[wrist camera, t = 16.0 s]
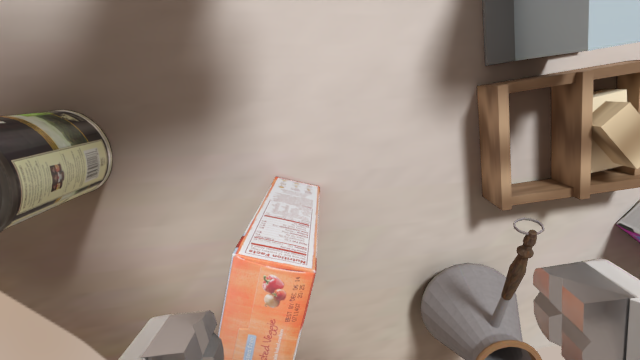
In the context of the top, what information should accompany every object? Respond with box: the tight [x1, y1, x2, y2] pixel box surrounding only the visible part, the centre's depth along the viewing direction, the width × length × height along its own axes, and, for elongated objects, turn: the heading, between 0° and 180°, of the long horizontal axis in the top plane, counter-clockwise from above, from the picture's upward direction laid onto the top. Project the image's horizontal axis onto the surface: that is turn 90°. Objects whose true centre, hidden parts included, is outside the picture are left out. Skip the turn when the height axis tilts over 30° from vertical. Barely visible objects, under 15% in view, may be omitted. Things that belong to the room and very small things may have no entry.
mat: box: [482, 0, 517, 66], centre depth 37 cm, size 9×10×1 cm
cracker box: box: [218, 177, 320, 360], centre depth 34 cm, size 14×6×21 cm, turn 167°
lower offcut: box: [591, 89, 627, 173], centre depth 39 cm, size 8×4×4 cm, turn 15°
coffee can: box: [0, 110, 112, 232], centre depth 36 cm, size 10×10×14 cm
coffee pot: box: [421, 218, 544, 360], centre depth 37 cm, size 21×12×15 cm, turn 4°
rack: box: [477, 60, 640, 211], centre depth 38 cm, size 13×16×5 cm
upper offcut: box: [592, 101, 640, 169], centre depth 36 cm, size 6×3×3 cm, turn 46°
